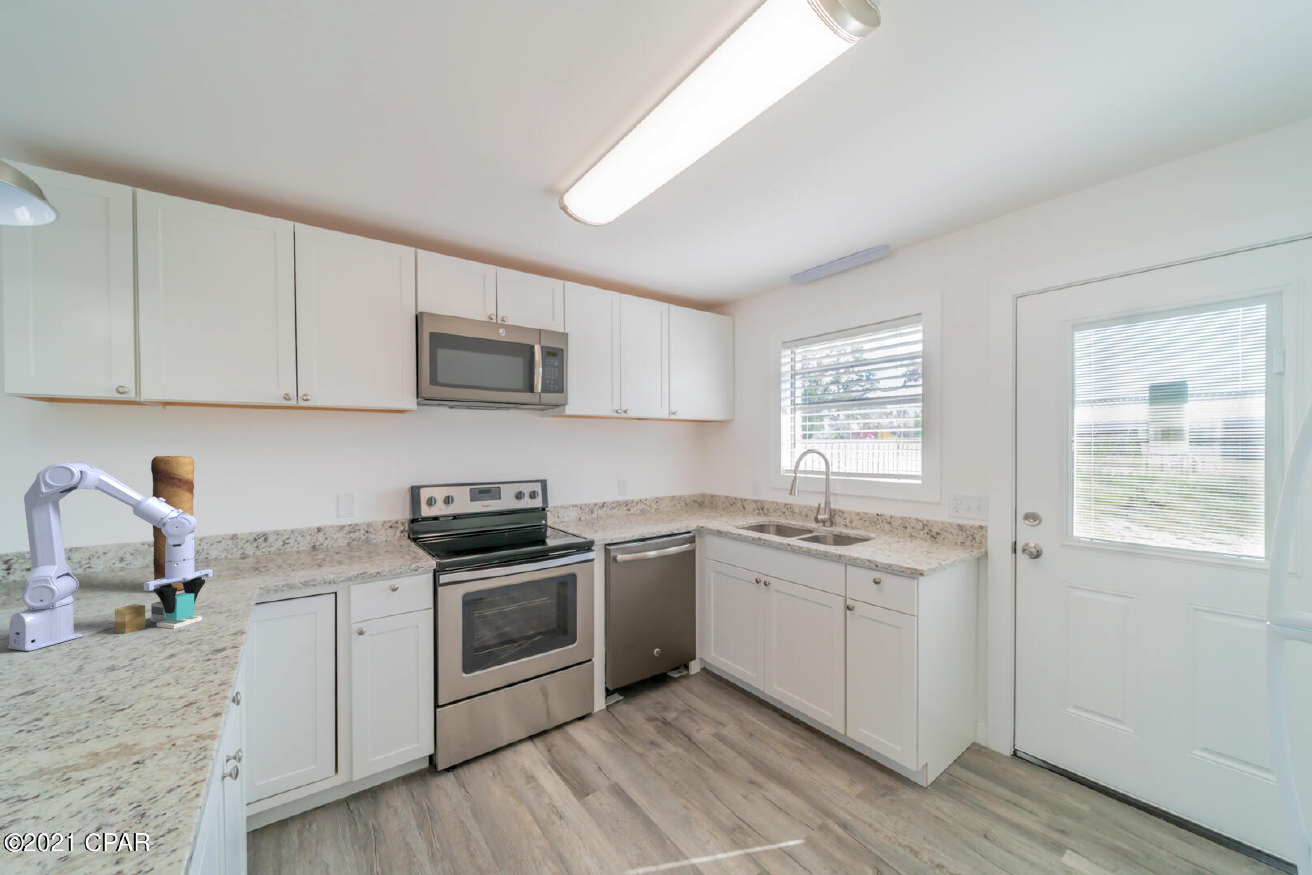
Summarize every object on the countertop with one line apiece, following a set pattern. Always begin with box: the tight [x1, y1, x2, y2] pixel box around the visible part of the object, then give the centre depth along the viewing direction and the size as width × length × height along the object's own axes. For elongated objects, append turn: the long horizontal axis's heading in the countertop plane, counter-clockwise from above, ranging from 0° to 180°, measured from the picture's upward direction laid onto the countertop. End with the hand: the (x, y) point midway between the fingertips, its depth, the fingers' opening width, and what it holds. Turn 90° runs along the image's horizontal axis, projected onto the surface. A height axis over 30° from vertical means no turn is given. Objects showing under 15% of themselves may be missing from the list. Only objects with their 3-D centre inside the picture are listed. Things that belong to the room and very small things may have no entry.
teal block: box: [166, 592, 195, 621], centre depth 133 cm, size 4×4×6 cm
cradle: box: [156, 615, 203, 630], centre depth 133 cm, size 6×6×1 cm
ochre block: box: [114, 603, 146, 634], centre depth 129 cm, size 4×4×6 cm
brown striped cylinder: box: [150, 455, 195, 591], centre depth 167 cm, size 10×11×45 cm
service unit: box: [150, 600, 166, 623], centre depth 136 cm, size 4×5×5 cm
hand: (179, 610), depth 133 cm, fingers closed on teal block, 4 cm apart
